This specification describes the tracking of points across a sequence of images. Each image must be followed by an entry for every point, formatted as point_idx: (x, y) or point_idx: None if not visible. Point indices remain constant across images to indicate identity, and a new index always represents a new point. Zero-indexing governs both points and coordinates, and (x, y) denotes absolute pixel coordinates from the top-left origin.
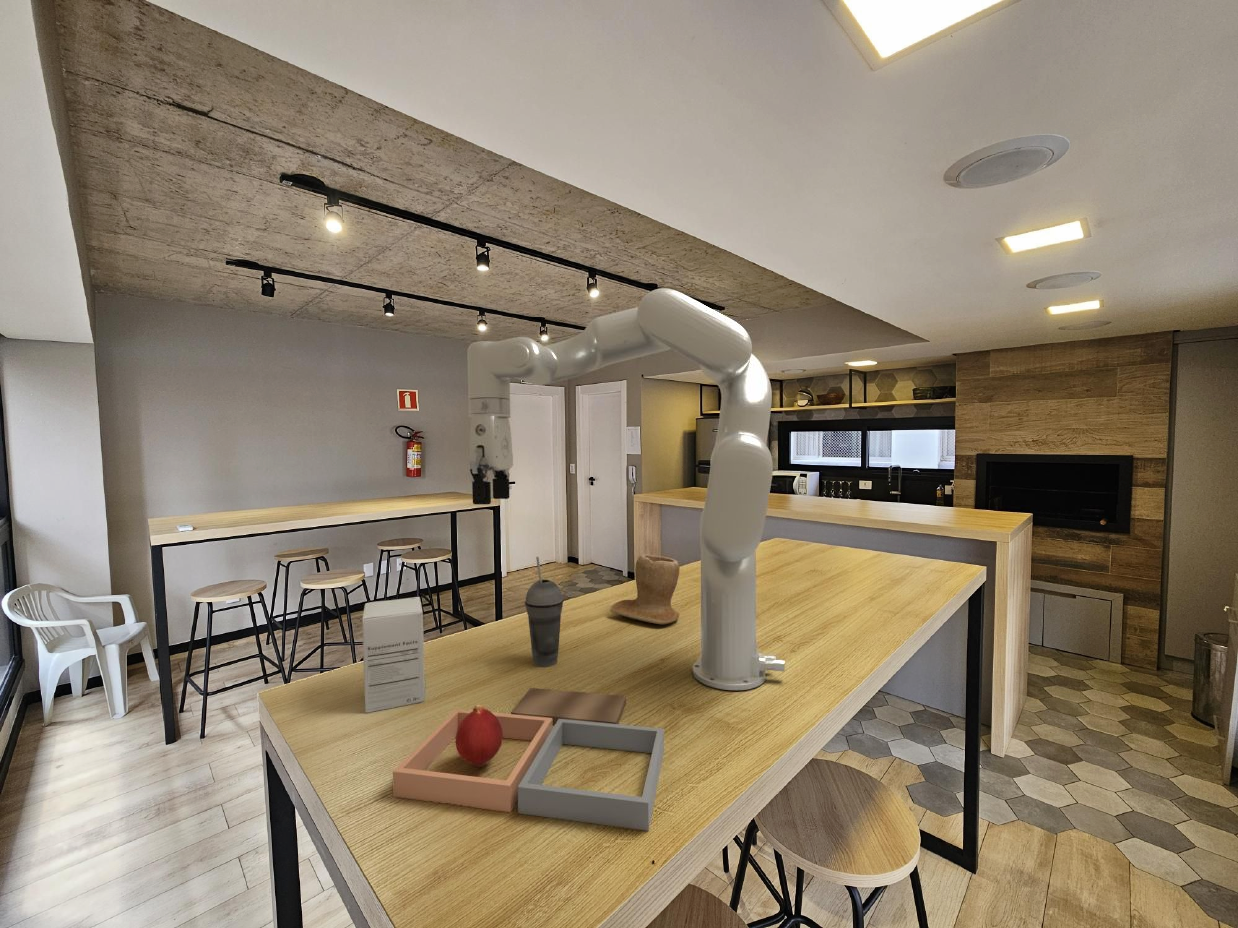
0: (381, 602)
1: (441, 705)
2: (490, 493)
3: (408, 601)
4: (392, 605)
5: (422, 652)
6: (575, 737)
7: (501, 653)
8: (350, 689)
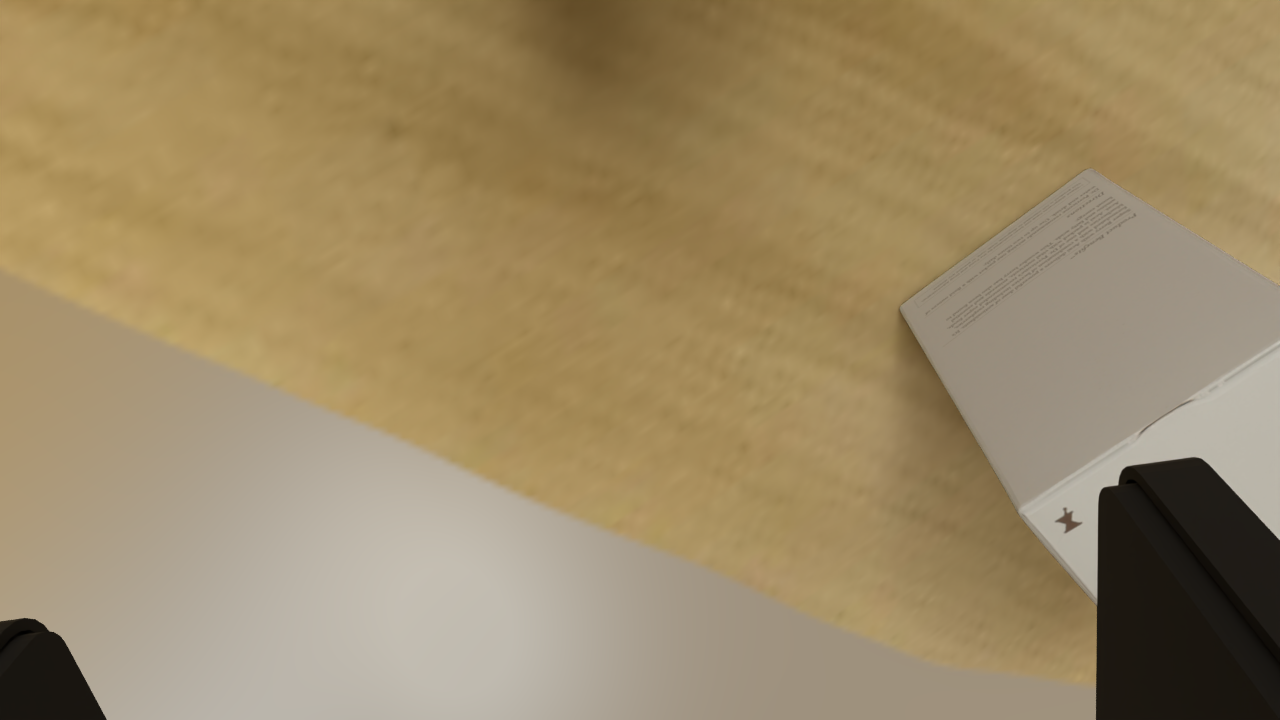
0: None
1: (1113, 74)
2: (1277, 596)
3: None
4: None
5: (1196, 234)
6: None
7: (535, 116)
8: None
